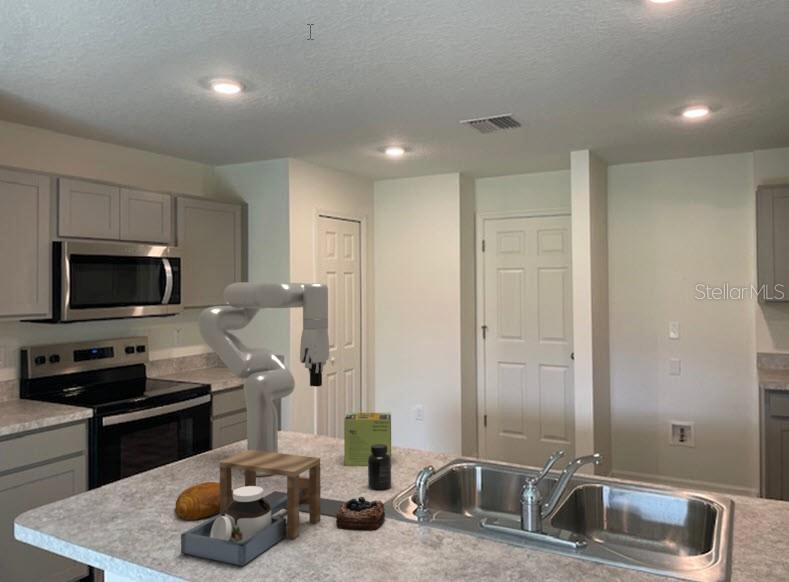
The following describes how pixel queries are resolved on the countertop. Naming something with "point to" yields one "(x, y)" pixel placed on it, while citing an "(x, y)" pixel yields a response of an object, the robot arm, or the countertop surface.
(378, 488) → the supplement bottle
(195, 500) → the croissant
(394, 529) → the countertop surface
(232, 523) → the spread jar
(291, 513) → the walnut table
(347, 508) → the pastry
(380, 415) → the protein box
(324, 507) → the pit mat
